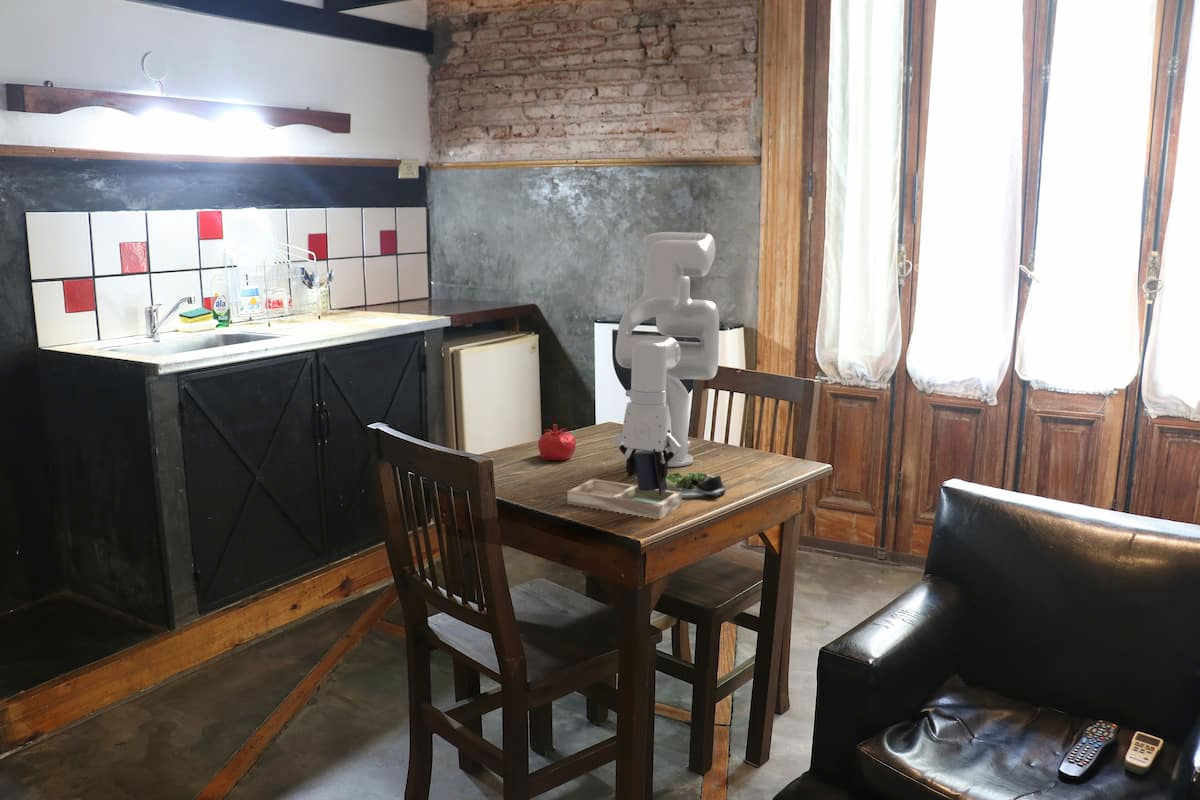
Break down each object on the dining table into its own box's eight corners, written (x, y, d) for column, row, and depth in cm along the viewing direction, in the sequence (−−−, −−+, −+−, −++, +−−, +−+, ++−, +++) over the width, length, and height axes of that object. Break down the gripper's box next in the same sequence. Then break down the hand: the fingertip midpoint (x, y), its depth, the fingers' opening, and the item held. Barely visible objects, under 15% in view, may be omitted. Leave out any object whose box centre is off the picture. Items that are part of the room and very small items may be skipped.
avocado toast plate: (647, 503, 225) (648, 483, 224) (637, 481, 242) (637, 463, 241) (731, 501, 227) (732, 482, 226) (715, 480, 244) (715, 462, 243)
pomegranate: (571, 464, 256) (572, 430, 254) (534, 462, 258) (534, 427, 256) (578, 454, 266) (579, 421, 264) (542, 452, 267) (542, 418, 265)
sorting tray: (592, 490, 232) (592, 478, 232) (681, 505, 222) (681, 492, 221) (567, 504, 222) (567, 491, 221) (659, 519, 212) (659, 506, 211)
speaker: (675, 488, 218) (671, 442, 217) (660, 495, 214) (656, 449, 212) (648, 485, 223) (643, 441, 221) (632, 492, 219) (627, 447, 217)
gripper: (604, 396, 215) (603, 476, 219) (678, 404, 207) (675, 487, 211) (620, 391, 222) (619, 468, 225) (692, 398, 214) (689, 479, 217)
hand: (646, 477), depth 218 cm, fingers closed on speaker, 6 cm apart
